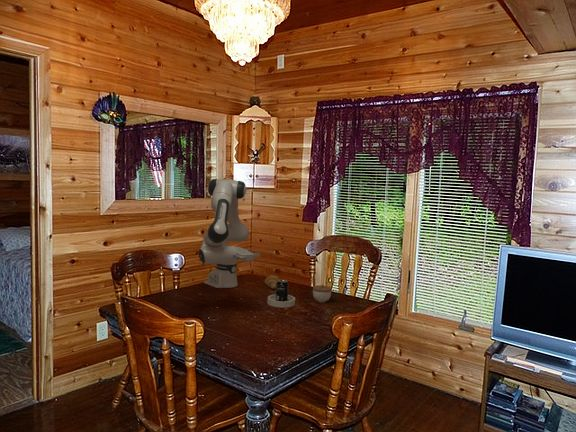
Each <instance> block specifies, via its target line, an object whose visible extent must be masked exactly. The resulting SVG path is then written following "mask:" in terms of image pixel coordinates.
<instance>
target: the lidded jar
mask: <svg viewBox="0 0 576 432" xmlns="http://www.w3.org/2000/svg"><path fill="white" fill-rule="evenodd" d="M312 296H313V298H314V300H315V301H316V302H317V301H318V302H317V303H327V302H328V301H329V300H330V298H331V296H332V287H330V286H327V285H324V284H321V285H314V286H312ZM326 301H327V302H326Z"/></svg>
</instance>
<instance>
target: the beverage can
mask: <svg viewBox="0 0 576 432" xmlns="http://www.w3.org/2000/svg"><path fill="white" fill-rule="evenodd" d="M279 279H280V280H277V283H276V288H275V294H276V299H275V300H276V301H282V302H285V301H288V295H289V282H288V280H287V279H281V278H279Z"/></svg>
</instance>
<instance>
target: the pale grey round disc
mask: <svg viewBox="0 0 576 432" xmlns="http://www.w3.org/2000/svg"><path fill="white" fill-rule="evenodd" d="M275 299H276V293H274V294H270V295H268V296H267V300H266V301H267V303H266V304H268V305H269V306H271V307H274V308H291V307H294V306H295V305H296V297H295V296H293V295H291V294H288V301H285V302H282V301H276V300H275Z"/></svg>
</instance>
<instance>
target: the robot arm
mask: <svg viewBox="0 0 576 432" xmlns="http://www.w3.org/2000/svg"><path fill="white" fill-rule="evenodd" d="M207 191H208V194H209V195H210V196H211V199H210V200H211V201H210V207H211V209H212V210H213V211H214V212H215V215H214V220H213V222H212V223H210V225H209V227H208V228H207V231H206V233H204V236H203V239H202V243H201V246H200V248H199V250H198V259H199V260H200V262H201V263H202V264H205V265H215V266H216V267H215V269H213V270H212V271H211V272H210V273H209V274H208V276H207V279H206V280H204V281H203V283H204V284H206V285H209V286H210V287H214V288H217V289H218V288H220V289H222V288H224V289H227V288H229V289H230V288H235V287H237V286H238V285H239V284H238V277H237V267H238V265H237V261H240V262H254V261H255V258H259V257H260V255H261V254H260V253H259V252H255V253H253V250H252V249H247V248H246V249H245V248H243V247H240V246H235V245H229V244H228V242H231V243H233V242H235V243H237V242H239V243H240V242H245V241H246V240H247V239H248V238H249V236H250V231H249V228H248V227H247V226H246V225H245V224H244V223H243V222H242V221H241V219H240V217H239V200H240V199H241V200H242V199H243V198H244V197H245V195H246V194H247V187H246V183H245V182H244V181H242V180H235V179H229V178H228V179H226V178H225V179H224V178H223V179H222V178H221V179H220V178H219V179H218V178H214V179H211V180H210V181H209V183H208V185H207Z"/></svg>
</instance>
